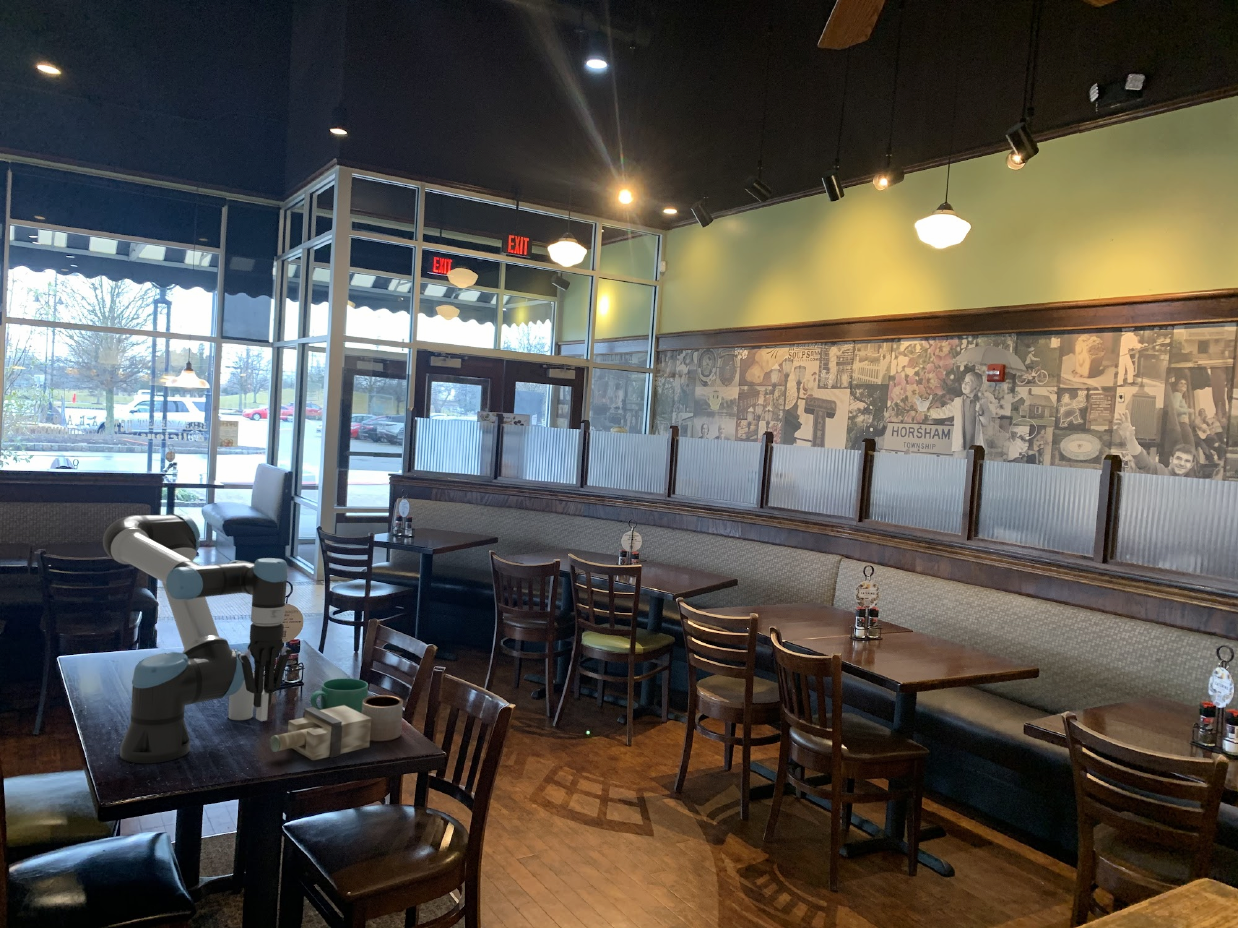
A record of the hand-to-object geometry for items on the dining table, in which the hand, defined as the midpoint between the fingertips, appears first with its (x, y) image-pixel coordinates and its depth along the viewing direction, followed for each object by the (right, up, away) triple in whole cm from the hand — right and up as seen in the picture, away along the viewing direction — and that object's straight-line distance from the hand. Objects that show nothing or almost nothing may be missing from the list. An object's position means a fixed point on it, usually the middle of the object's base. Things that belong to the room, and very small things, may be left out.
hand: (261, 718), depth 211 cm
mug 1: (-17, -9, +32) cm, 37 cm away
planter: (+22, -12, +25) cm, 36 cm away
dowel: (+6, -9, +9) cm, 14 cm away
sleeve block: (+11, -11, +15) cm, 22 cm away
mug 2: (+6, -11, +36) cm, 38 cm away
